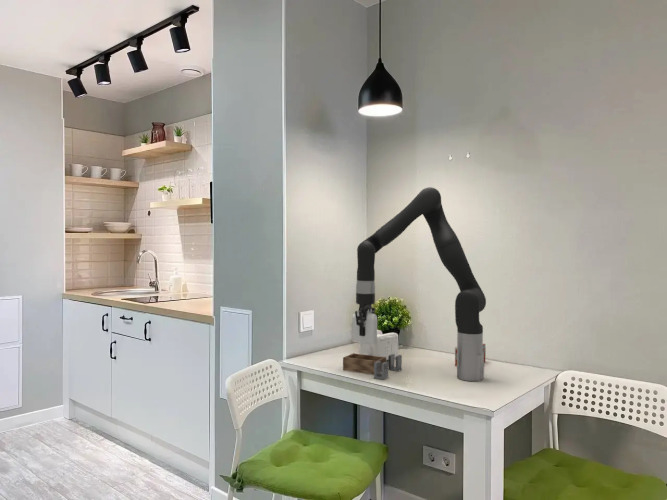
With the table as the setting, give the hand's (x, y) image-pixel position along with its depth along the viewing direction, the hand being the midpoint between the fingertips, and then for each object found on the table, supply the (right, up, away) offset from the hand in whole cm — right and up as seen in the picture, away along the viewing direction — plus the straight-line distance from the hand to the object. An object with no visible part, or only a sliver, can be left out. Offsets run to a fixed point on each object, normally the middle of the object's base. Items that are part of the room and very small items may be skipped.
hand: (365, 334), depth 210 cm
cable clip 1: (+5, -14, -12) cm, 19 cm away
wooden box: (0, -14, 0) cm, 14 cm away
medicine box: (+45, -14, +12) cm, 48 cm away
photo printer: (0, -3, 0) cm, 3 cm away
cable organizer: (+7, -14, +19) cm, 24 cm away
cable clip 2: (+12, -14, 0) cm, 18 cm away
